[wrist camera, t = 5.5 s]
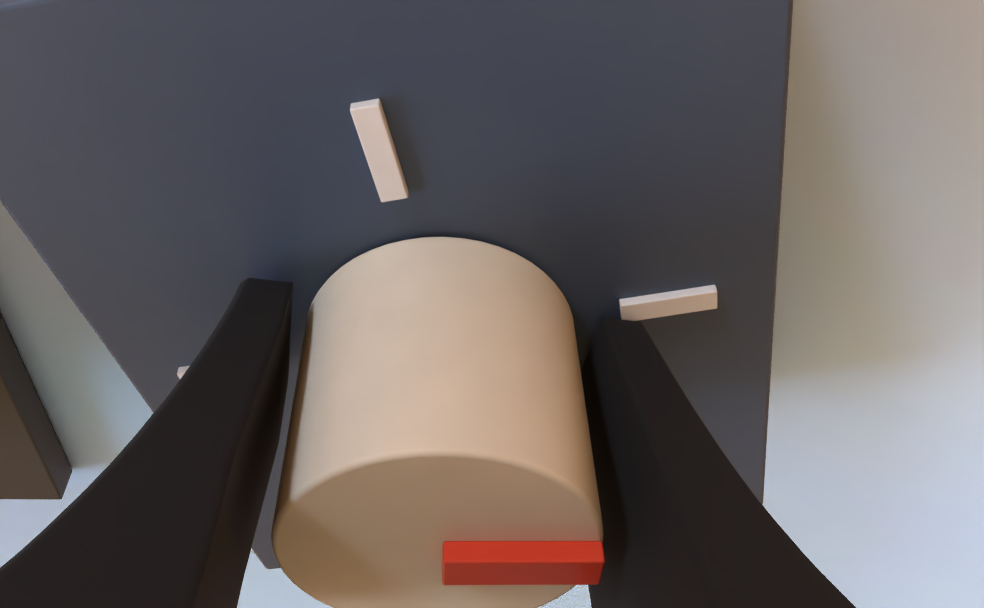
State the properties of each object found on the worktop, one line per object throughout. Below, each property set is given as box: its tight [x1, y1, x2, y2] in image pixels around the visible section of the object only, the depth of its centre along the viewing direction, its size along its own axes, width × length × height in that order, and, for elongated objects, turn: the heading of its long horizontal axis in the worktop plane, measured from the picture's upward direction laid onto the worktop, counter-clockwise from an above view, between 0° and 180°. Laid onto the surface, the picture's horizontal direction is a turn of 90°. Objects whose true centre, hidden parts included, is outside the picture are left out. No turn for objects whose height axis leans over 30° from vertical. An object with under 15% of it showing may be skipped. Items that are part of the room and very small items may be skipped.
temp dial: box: [271, 237, 605, 608], centre depth 12 cm, size 4×4×4 cm
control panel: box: [0, 0, 793, 569], centre depth 14 cm, size 12×10×3 cm
